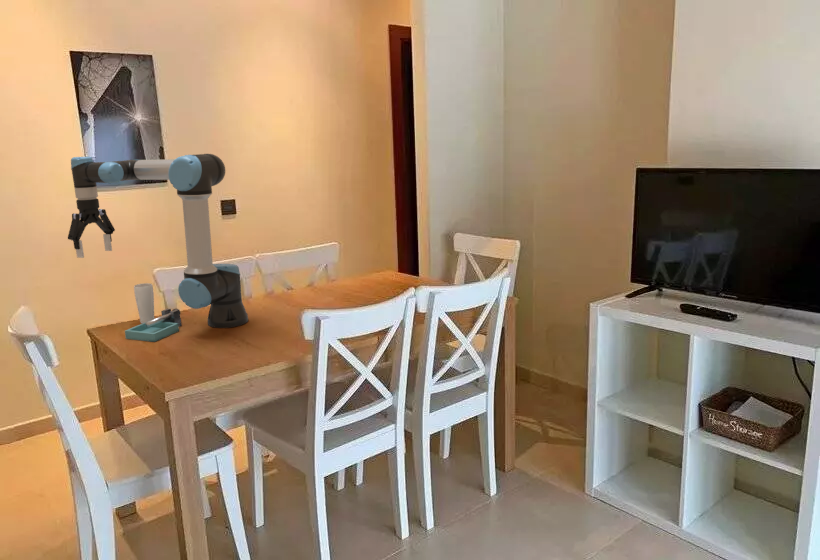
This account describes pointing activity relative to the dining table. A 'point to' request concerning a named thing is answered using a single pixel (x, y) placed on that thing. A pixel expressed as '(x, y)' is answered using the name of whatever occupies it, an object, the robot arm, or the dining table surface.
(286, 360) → the dining table surface
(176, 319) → the pin mount
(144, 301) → the drinking glass
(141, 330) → the teal square tray
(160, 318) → the lock pin
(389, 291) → the dining table surface
